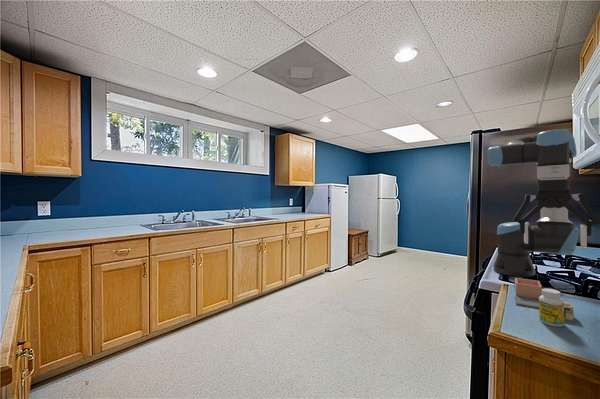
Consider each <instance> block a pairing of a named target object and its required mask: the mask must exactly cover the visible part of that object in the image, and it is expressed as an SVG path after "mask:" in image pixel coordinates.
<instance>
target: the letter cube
mask: <svg viewBox="0 0 600 399" xmlns="http://www.w3.org/2000/svg"><path fill="white" fill-rule="evenodd" d="M564 320H569V321H574V306H573V304H572V303H571V302H570V301H564Z"/></svg>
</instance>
